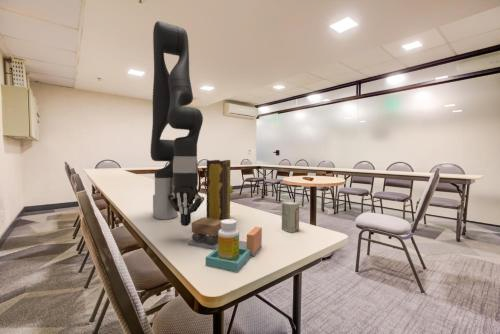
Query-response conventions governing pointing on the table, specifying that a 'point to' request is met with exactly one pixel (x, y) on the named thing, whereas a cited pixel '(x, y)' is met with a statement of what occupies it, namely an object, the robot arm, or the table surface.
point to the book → (218, 189)
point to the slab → (206, 229)
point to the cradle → (227, 264)
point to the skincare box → (290, 216)
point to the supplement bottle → (228, 240)
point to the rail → (252, 241)
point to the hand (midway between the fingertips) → (185, 225)
